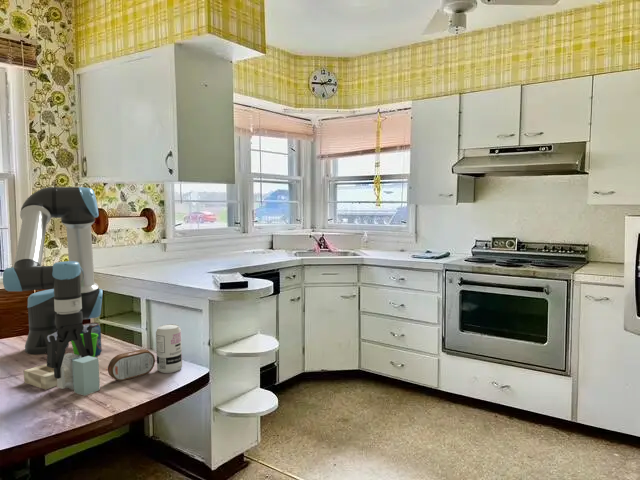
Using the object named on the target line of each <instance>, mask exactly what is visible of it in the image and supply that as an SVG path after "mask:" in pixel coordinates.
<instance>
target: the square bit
mask: <svg viewBox="0 0 640 480" xmlns="http://www.w3.org/2000/svg"><path fill="white" fill-rule="evenodd" d="M99 366H100V364H99V357H92V356H86V357H82V358H79V359H76V360H73V371H74V390H73V392H74V393H75V394H78V395H82V396H88V395H91V394H93V393H95V391H96V392H98V391H100V390H101V388H100V387H101V386H100V384H101V383H100V368H99ZM90 393H91V394H90Z"/></svg>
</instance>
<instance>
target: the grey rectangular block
mask: <svg viewBox="0 0 640 480" xmlns="http://www.w3.org/2000/svg"><path fill="white" fill-rule="evenodd" d="M79 358H81V355H77V354H74V352H73V353H72V352H68V353H65V354H64V358H63V362H62V365H61V367H64V378H65V388H64V389H68V388H69V389H68V390H72V391H74V371H73V360H76V359H79Z"/></svg>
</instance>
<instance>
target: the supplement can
mask: <svg viewBox="0 0 640 480" xmlns="http://www.w3.org/2000/svg"><path fill="white" fill-rule="evenodd" d="M155 345H156V346H155V347H156V348H155V350H156V369H157V371H158V372H160V373H163V374H169V373H175V372H179V371H180V370H181V368H182V367H183V354H182V353H183V352H182V349H183V347H182V329H181V328H180V325H179V324H176V323H175V324H174V323H169V324H162V325H159V326H158V327H157V329H156V331H155Z"/></svg>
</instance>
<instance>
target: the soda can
mask: <svg viewBox="0 0 640 480" xmlns="http://www.w3.org/2000/svg"><path fill="white" fill-rule="evenodd" d="M82 324H83V323H82ZM85 325H87V326H91V327H92V331H91V333H96V334H98V335H99V336H98V337H97V344H96V352H95V357H96V358H98V357H100V355H101V353H102V331H101V326H100V324H99V322H87V323H84V324H83V326H85ZM81 334H83V331H82V332H81Z"/></svg>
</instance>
